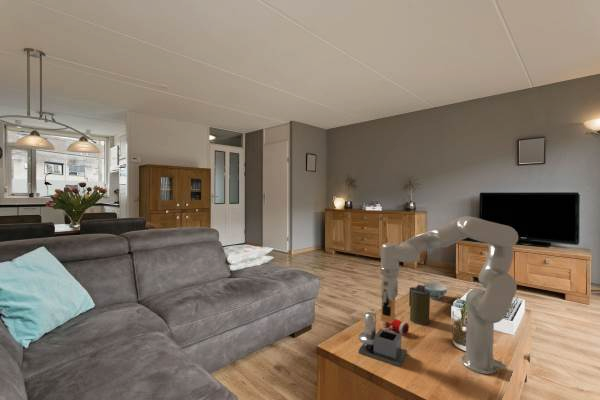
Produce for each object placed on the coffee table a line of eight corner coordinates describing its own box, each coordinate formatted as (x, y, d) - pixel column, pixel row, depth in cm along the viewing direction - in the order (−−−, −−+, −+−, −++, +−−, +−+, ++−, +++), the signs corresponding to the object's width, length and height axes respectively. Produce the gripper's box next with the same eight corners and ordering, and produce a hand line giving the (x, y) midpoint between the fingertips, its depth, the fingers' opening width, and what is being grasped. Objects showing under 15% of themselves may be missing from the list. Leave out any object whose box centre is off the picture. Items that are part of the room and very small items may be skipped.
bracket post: (406, 353, 128) (407, 318, 128) (400, 366, 118) (401, 328, 118) (363, 340, 139) (364, 307, 138) (354, 351, 129) (355, 316, 128)
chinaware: (429, 292, 209) (429, 281, 209) (450, 298, 198) (450, 287, 198) (418, 296, 200) (419, 285, 199) (440, 303, 188) (441, 291, 188)
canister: (432, 320, 162) (433, 285, 161) (425, 326, 154) (426, 290, 154) (413, 314, 169) (414, 281, 169) (405, 320, 162) (406, 285, 161)
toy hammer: (381, 347, 133) (381, 333, 133) (361, 337, 143) (362, 324, 143) (409, 333, 147) (409, 321, 147) (389, 325, 157) (390, 313, 156)
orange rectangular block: (394, 319, 127) (395, 292, 127) (391, 323, 123) (392, 295, 123) (384, 317, 130) (385, 290, 129) (381, 320, 126) (382, 293, 125)
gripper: (393, 278, 117) (391, 322, 117) (402, 269, 131) (401, 308, 131) (374, 274, 121) (373, 317, 121) (386, 266, 135) (385, 305, 135)
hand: (388, 312), depth 126 cm, fingers closed on orange rectangular block, 4 cm apart
